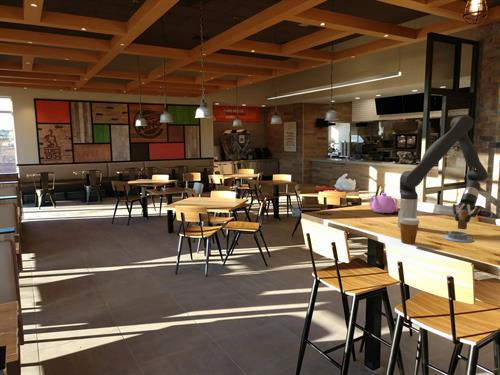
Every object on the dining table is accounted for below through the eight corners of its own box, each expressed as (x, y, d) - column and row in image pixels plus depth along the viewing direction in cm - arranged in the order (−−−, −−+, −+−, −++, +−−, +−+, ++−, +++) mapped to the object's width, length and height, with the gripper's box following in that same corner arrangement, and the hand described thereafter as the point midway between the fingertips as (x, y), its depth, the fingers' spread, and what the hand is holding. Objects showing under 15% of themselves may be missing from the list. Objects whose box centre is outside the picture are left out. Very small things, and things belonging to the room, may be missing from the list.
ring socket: (451, 242, 194) (451, 236, 194) (437, 235, 208) (437, 230, 208) (478, 242, 194) (479, 236, 194) (462, 235, 208) (463, 230, 208)
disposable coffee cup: (418, 245, 187) (420, 221, 186) (397, 243, 191) (399, 219, 189) (418, 241, 196) (419, 217, 195) (398, 239, 199) (399, 216, 198)
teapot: (359, 212, 279) (360, 193, 278) (375, 208, 294) (376, 190, 292) (388, 216, 263) (389, 196, 261) (403, 212, 277) (404, 193, 276)
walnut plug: (460, 229, 210) (461, 211, 209) (455, 227, 214) (457, 209, 213) (468, 229, 210) (469, 211, 209) (463, 227, 214) (465, 209, 213)
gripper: (454, 191, 220) (446, 215, 213) (483, 194, 210) (475, 218, 203) (456, 199, 225) (448, 223, 217) (484, 202, 215) (477, 227, 207)
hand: (461, 220), depth 210 cm, fingers closed on walnut plug, 4 cm apart
